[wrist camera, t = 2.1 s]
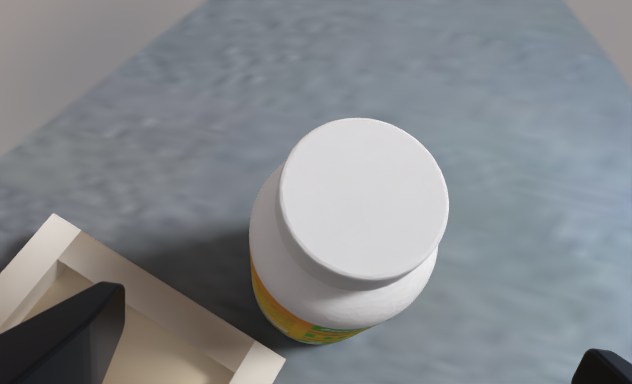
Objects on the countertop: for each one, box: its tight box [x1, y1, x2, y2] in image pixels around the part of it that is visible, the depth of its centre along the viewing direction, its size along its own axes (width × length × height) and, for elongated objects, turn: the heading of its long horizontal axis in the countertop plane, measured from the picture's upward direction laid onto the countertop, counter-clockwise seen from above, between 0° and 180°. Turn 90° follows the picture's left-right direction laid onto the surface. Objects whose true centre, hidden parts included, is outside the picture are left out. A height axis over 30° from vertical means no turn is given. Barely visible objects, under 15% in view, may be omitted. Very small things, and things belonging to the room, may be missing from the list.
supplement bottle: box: [249, 118, 449, 344], centre depth 15 cm, size 5×5×10 cm
